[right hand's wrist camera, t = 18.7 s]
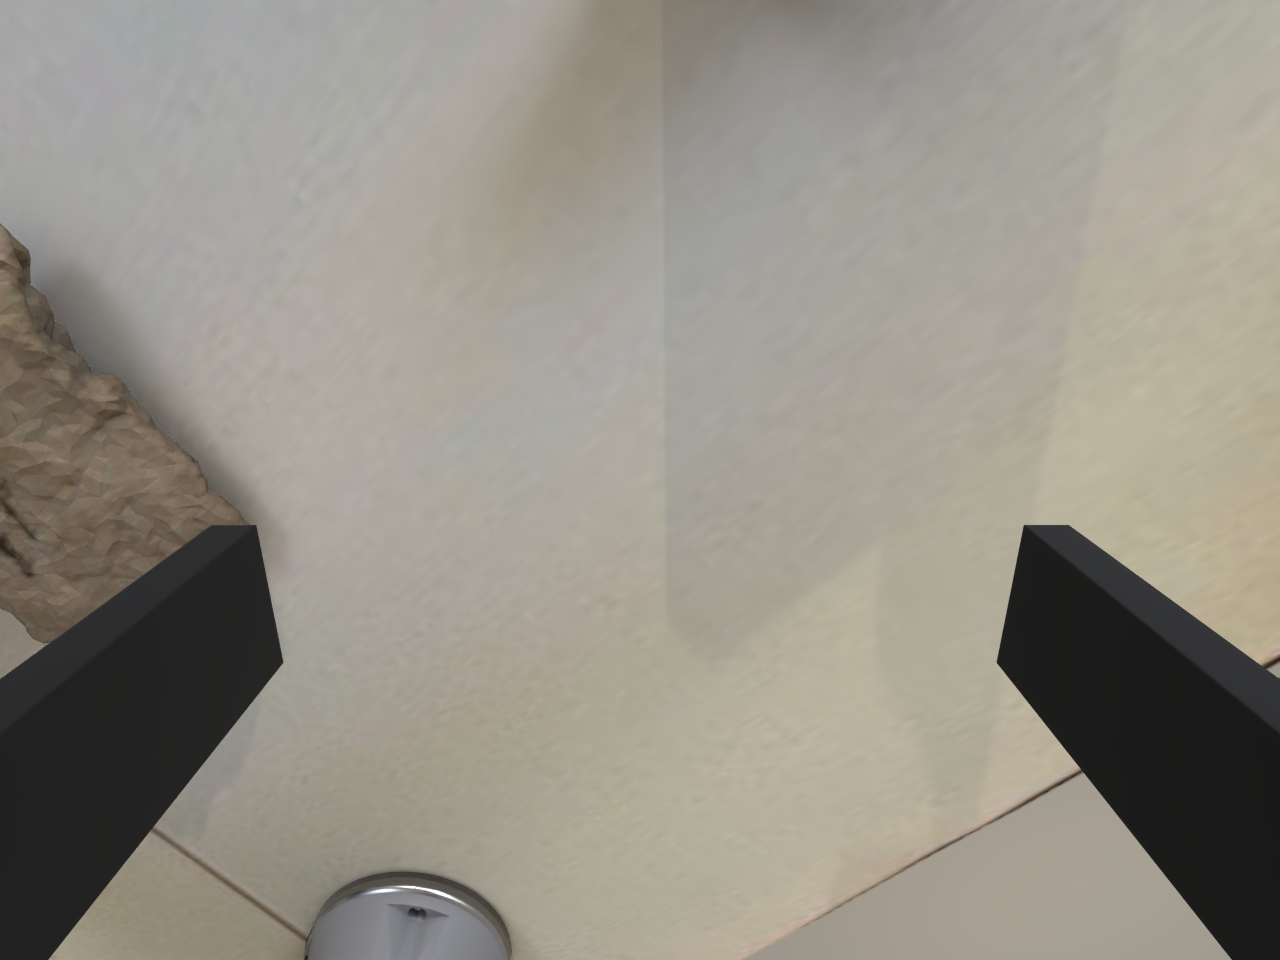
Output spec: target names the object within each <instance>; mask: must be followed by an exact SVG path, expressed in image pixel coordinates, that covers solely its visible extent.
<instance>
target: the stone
mask: <svg viewBox="0 0 1280 960" xmlns="http://www.w3.org/2000/svg"><path fill="white" fill-rule="evenodd" d="M30 260H31V259H30V255H29V251H28V249H27V248H26V247H25V246H24V245H22V244H21V243H20V242H19V241H18V240H16V239H15V238H14V237H13V236H12V235H11V234H10V233H9V231H8V230H7V229H6V228H5V227H4V226H3V225H1V224H0V608H1V609H3V610H6V611H8V612H10V613H12V614H13V615H14V616H15V617H16V618H17V619H18V620H19V621H20V622H21V623H22V624H23V625H24V626H25V627H26V630H27V632H28V633H29V635H30V636H31V637H32V638H33V639H35V640H37V641H39V642H43V643H49V642H52V641H53V640H55V639H56V638H57V637H59V636H60V635H62V634H63V633H64V632H66V631H67V630H68V629H70V628H71V627H73V626H74V625H75V624H77V623H78V622H79V621H81V620H82V619H83V618H85V617H86V616H88V615H89V614H90V613H92V612H93V611H94V610H96V609H97V608H99V607H100V606H101V605H103V604H104V603H105V602H107V601H108V600H109V599H111V598H112V597H114V596H115V595H116V594H118V593H119V592H120V591H122V590H123V589H125V588H126V587H127V586H129V585H130V584H131V583H133V582H134V581H136V580H137V579H138V578H140V577H141V576H142V575H144V574H145V573H146V572H148V571H149V570H151V569H152V568H153V567H155V566H156V565H157V564H159V563H160V562H162V561H163V560H164V559H166V558H167V557H168V556H170V555H171V554H172V553H174V552H175V551H177V550H178V549H179V548H181V547H182V546H183V545H185V544H186V543H188V542H189V541H190V540H192V539H193V538H194V537H196V536H197V535H198V534H200V533H201V532H203V531H204V530H205V529H207V528H208V527H209V526H211V525H249V524H248V523H246V522H245V521H244V519H243V518H242V516H241V514H240V513H239V512H238V510H236V509H235V508H234V507H233V506H232V505H231V504H230V503H229V502H228V501H227V500H225V499H224V498H223V497H222V496H221V495H220V494H218V493H217V492H215V491H214V490H213V489H212V488H211V487H210V485H209V484H208V481H207V479H206V478H205V477H204V476H203V474H202V473H201V471H200V467H199V463H198V461H197V460H195V459H194V458H193V457H191V456H190V455H189V454H188V453H186V452H185V451H183V450H182V449H181V448H180V447H179V445H178V444H177V443H176V442H174V441H172V440H170V439H168V438H167V437H166V436H165V435H164V434H163V433H162V432H161V431H160V430H159V429H158V428H157V427H156V425H155V424H154V422H153V420H152V419H151V416H150V413H149V412H147V411H146V410H145V409H144V408H142V407H141V406H140V405H139V404H138V402H137V401H136V400H135V399H134V398H133V397H132V395H131V394H130V393H129V391H128V388H127V387H126V385H125V384H124V383H123V382H122V381H121V380H120V379H119V378H118V377H117V376H116V375H114V374H95V373H93V372H92V371H91V370H90V368H89V366H88V364H87V362H86V361H85V360H84V359H83V358H82V357H81V356H79V355H78V354H76V352H75V349H74V347H73V344H72V342H71V339H70V336H69V335H68V333H67V331H66V330H65V329H64V328H63V327H62V326H61V325H59V324H57V323H56V322H54V316H53V311H52V310H51V309H50V307H49V304H48V302H47V300H46V297H45V296H44V295H43V294H41V293H40V292H39V291H37V290H36V289H35V288H34V287H32V286H31V285H30V283H31V281H30Z"/></svg>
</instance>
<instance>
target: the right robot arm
mask: <svg viewBox="0 0 1280 960" xmlns="http://www.w3.org/2000/svg"><path fill="white" fill-rule="evenodd" d="M282 664H283V658H282V653H281V648H280V643H279V638H278V633H277V628H276V623H275V618H274V613H273V608H272V603H271V598H270V593H269V588H268V583H267V578H266V573H265V568H264V563H263V557H262V552H261V547H260V542H259V537H258V532H257V527H256V525H211V526H209V527H208V528H207V529H205V530H204V531H203V532H201V533H200V534H198V535H197V536H196V537H194V538H193V539H192V540H190V541H189V542H188V543H186V544H185V545H183V546H182V547H181V548H179V549H178V550H177V551H175V552H174V553H172V554H171V555H170V556H168V557H167V558H166V559H164V560H163V561H162V562H160V563H159V564H157V565H156V566H155V567H153V568H152V569H151V570H149V571H148V572H146V573H145V574H144V575H142V576H141V577H140V578H138V579H137V580H136V581H134V582H133V583H131V584H130V585H129V586H127V587H126V588H125V589H123V590H122V591H120V592H119V593H118V594H116V595H115V596H114V597H112V598H111V599H109V600H108V601H107V602H105V603H104V604H103V605H101V606H100V607H99V608H97V609H96V610H94V611H93V612H92V613H90V614H89V615H88V616H86V617H85V618H83V619H82V620H81V621H79V622H78V623H77V624H75V625H74V626H73V627H71V628H70V629H68V630H67V631H66V632H64V633H63V634H62V635H60V636H59V637H57V638H56V639H55V640H53V641H52V642H51V643H49V644H48V645H47V646H45V647H44V648H42V649H41V650H40V651H38V652H37V653H36V654H34V655H33V656H31V657H30V658H29V659H27V660H26V661H25V662H23V663H22V664H20V665H19V666H18V667H16V668H15V669H14V670H12V671H11V672H10V673H8V674H7V675H5V676H4V677H3V678H1V679H0V960H48V959H49V958H50V957H51V955H52V954H53V953H54V952H55V950H56V949H57V948H58V947H59V945H60V944H61V943H62V942H63V940H64V939H65V938H66V936H67V935H68V934H69V933H70V931H71V930H72V929H73V928H74V926H75V925H76V924H77V923H78V921H79V920H80V919H81V918H82V916H83V915H84V914H85V912H86V911H87V910H88V909H89V907H90V906H91V905H92V904H93V902H94V901H95V900H96V899H97V897H98V896H99V895H100V894H101V892H102V891H103V890H104V888H105V887H106V886H107V885H108V883H109V882H110V881H111V880H112V878H113V877H114V876H115V875H116V873H117V872H118V871H119V870H120V868H121V867H122V866H123V864H124V863H125V862H126V861H127V859H128V858H129V857H130V856H131V854H132V853H133V852H134V851H135V849H136V848H137V847H138V846H139V844H140V843H141V842H142V840H143V839H144V838H145V837H146V835H147V834H148V833H149V832H150V830H151V829H152V828H153V827H154V825H155V824H156V823H157V822H158V820H159V819H160V818H161V816H162V815H163V814H164V813H165V811H166V810H167V809H168V808H169V806H170V805H171V804H172V803H173V801H174V800H175V799H176V798H177V796H178V795H179V794H180V792H181V791H182V790H183V789H184V787H185V786H186V785H187V784H188V782H189V781H190V780H191V779H192V777H193V776H194V775H195V774H196V772H197V771H198V770H199V768H200V767H201V766H202V765H203V763H204V762H205V761H206V760H207V758H208V757H209V756H210V755H211V753H212V752H213V751H214V750H215V748H216V747H217V746H218V744H219V743H220V742H221V741H222V739H223V738H224V737H225V736H226V734H227V733H228V732H229V731H230V729H231V728H232V727H233V726H234V724H235V723H236V722H237V720H238V719H239V718H240V717H241V715H242V714H243V713H244V712H245V710H246V709H247V708H248V707H249V705H250V704H251V703H252V702H253V700H254V699H255V698H256V696H257V695H258V694H259V693H260V691H261V690H262V689H263V688H264V686H265V685H266V684H267V683H268V681H269V680H270V679H271V678H272V676H273V675H274V674H275V672H276V671H277V670H278V669H279V667H280V666H281V665H282ZM997 664H998V665H999V666H1000V667H1001V669H1002V670H1003V671H1004V672H1005V674H1006V675H1007V676H1008V678H1009V679H1010V680H1011V681H1012V683H1013V684H1014V685H1015V686H1016V688H1017V689H1018V690H1019V691H1020V693H1021V694H1022V695H1023V696H1024V698H1025V699H1026V700H1027V702H1028V703H1029V704H1030V705H1031V707H1032V708H1033V709H1034V710H1035V712H1036V713H1037V714H1038V715H1039V717H1040V718H1041V719H1042V720H1043V722H1044V723H1045V724H1046V726H1047V727H1048V728H1049V729H1050V731H1051V732H1052V733H1053V734H1054V736H1055V737H1056V738H1057V739H1058V741H1059V742H1060V743H1061V744H1062V746H1063V747H1064V748H1065V750H1066V751H1067V752H1068V753H1069V755H1070V756H1071V757H1072V758H1073V760H1074V761H1075V762H1076V763H1077V765H1078V766H1079V767H1080V768H1081V770H1082V771H1083V772H1084V774H1085V775H1086V776H1087V777H1088V779H1089V780H1090V781H1091V782H1092V784H1093V785H1094V786H1095V787H1096V789H1097V790H1098V791H1099V792H1100V794H1101V795H1102V796H1103V798H1104V799H1105V800H1106V801H1107V803H1108V804H1109V805H1110V806H1111V808H1112V809H1113V810H1114V811H1115V813H1116V814H1117V815H1118V816H1119V818H1120V819H1121V820H1122V822H1123V823H1124V824H1125V825H1126V827H1127V828H1128V829H1129V830H1130V832H1131V833H1132V834H1133V835H1134V837H1135V838H1136V839H1137V840H1138V842H1139V843H1140V844H1141V845H1142V847H1143V848H1144V849H1145V851H1146V852H1147V853H1148V854H1149V856H1150V857H1151V858H1152V859H1153V861H1154V862H1155V863H1156V864H1157V866H1158V867H1159V868H1160V869H1161V871H1162V872H1163V873H1164V875H1165V876H1166V877H1167V878H1168V880H1169V881H1170V882H1171V883H1172V885H1173V886H1174V887H1175V888H1176V890H1177V891H1178V892H1179V893H1180V895H1181V896H1182V897H1183V899H1184V900H1185V901H1186V902H1187V904H1188V905H1189V906H1190V907H1191V909H1192V910H1193V911H1194V912H1195V914H1196V915H1197V916H1198V918H1199V919H1200V920H1201V921H1202V923H1203V924H1204V925H1205V926H1206V928H1207V929H1208V930H1209V931H1210V933H1211V934H1212V935H1213V936H1214V938H1215V939H1216V940H1217V941H1218V943H1219V944H1220V945H1221V947H1222V948H1223V949H1224V950H1225V952H1226V953H1227V954H1228V955H1229V957H1230V958H1231V959H1232V960H1280V678H1277V677H1276V676H1275V675H1273V674H1272V673H1270V672H1269V671H1268V670H1266V669H1265V668H1264V667H1262V666H1261V665H1260V664H1258V663H1257V662H1255V661H1254V660H1253V659H1251V658H1250V657H1249V656H1247V655H1246V654H1244V653H1243V652H1242V651H1240V650H1239V649H1238V648H1236V647H1235V646H1233V645H1232V644H1231V643H1229V642H1228V641H1227V640H1225V639H1224V638H1223V637H1221V636H1220V635H1218V634H1217V633H1216V632H1214V631H1213V630H1212V629H1210V628H1209V627H1207V626H1206V625H1205V624H1203V623H1202V622H1201V621H1199V620H1198V619H1197V618H1195V617H1194V616H1192V615H1191V614H1190V613H1188V612H1187V611H1186V610H1184V609H1183V608H1181V607H1180V606H1179V605H1177V604H1176V603H1175V602H1173V601H1172V600H1171V599H1169V598H1168V597H1166V596H1165V595H1164V594H1162V593H1161V592H1160V591H1158V590H1157V589H1155V588H1154V587H1153V586H1151V585H1150V584H1149V583H1147V582H1146V581H1144V580H1143V579H1142V578H1140V577H1139V576H1138V575H1136V574H1135V573H1134V572H1132V571H1131V570H1129V569H1128V568H1127V567H1125V566H1124V565H1123V564H1121V563H1120V562H1118V561H1117V560H1116V559H1114V558H1113V557H1112V556H1110V555H1109V554H1108V553H1106V552H1105V551H1103V550H1102V549H1101V548H1099V547H1098V546H1097V545H1095V544H1094V543H1092V542H1091V541H1090V540H1088V539H1087V538H1086V537H1084V536H1083V535H1082V534H1080V533H1079V532H1077V531H1076V530H1075V529H1073V528H1072V527H1071V526H1069V525H1024V527H1023V532H1022V537H1021V542H1020V547H1019V552H1018V557H1017V563H1016V568H1015V573H1014V578H1013V583H1012V588H1011V593H1010V598H1009V603H1008V608H1007V613H1006V618H1005V623H1004V628H1003V633H1002V638H1001V643H1000V648H999V653H998V658H997ZM510 959H511V942H510V937H509V934H508V931H507V928H506V926H505V924H504V922H503V921H502V919H501V917H500V916H499V915H498V913H497V912H496V911H495V910H494V909H493V908H492V907H491V905H490V904H489V903H487V902H486V901H485V900H484V899H483V898H481V897H480V896H479V895H477V894H476V893H474V892H473V891H471V890H469V889H468V888H466V887H464V886H462V885H460V884H458V883H455V882H453V881H450V880H447V879H444V878H441V877H437V876H433V875H429V874H423V873H414V872H389V873H382V874H376V875H372V876H368V877H365V878H362V879H359V880H357V881H354V882H352V883H350V884H348V885H346V886H344V887H343V888H341V889H340V890H338V891H337V892H336V893H335V894H333V895H332V896H331V897H330V898H329V899H328V900H327V901H326V903H325V904H324V906H323V907H322V908H321V910H320V912H319V914H318V916H317V918H316V920H315V923H314V925H313V927H312V929H311V931H310V934H309V936H308V939H307V942H306V946H305V953H304V960H510Z"/></svg>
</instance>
